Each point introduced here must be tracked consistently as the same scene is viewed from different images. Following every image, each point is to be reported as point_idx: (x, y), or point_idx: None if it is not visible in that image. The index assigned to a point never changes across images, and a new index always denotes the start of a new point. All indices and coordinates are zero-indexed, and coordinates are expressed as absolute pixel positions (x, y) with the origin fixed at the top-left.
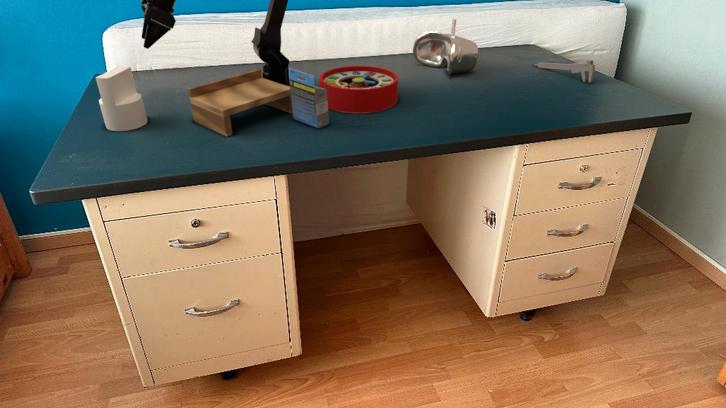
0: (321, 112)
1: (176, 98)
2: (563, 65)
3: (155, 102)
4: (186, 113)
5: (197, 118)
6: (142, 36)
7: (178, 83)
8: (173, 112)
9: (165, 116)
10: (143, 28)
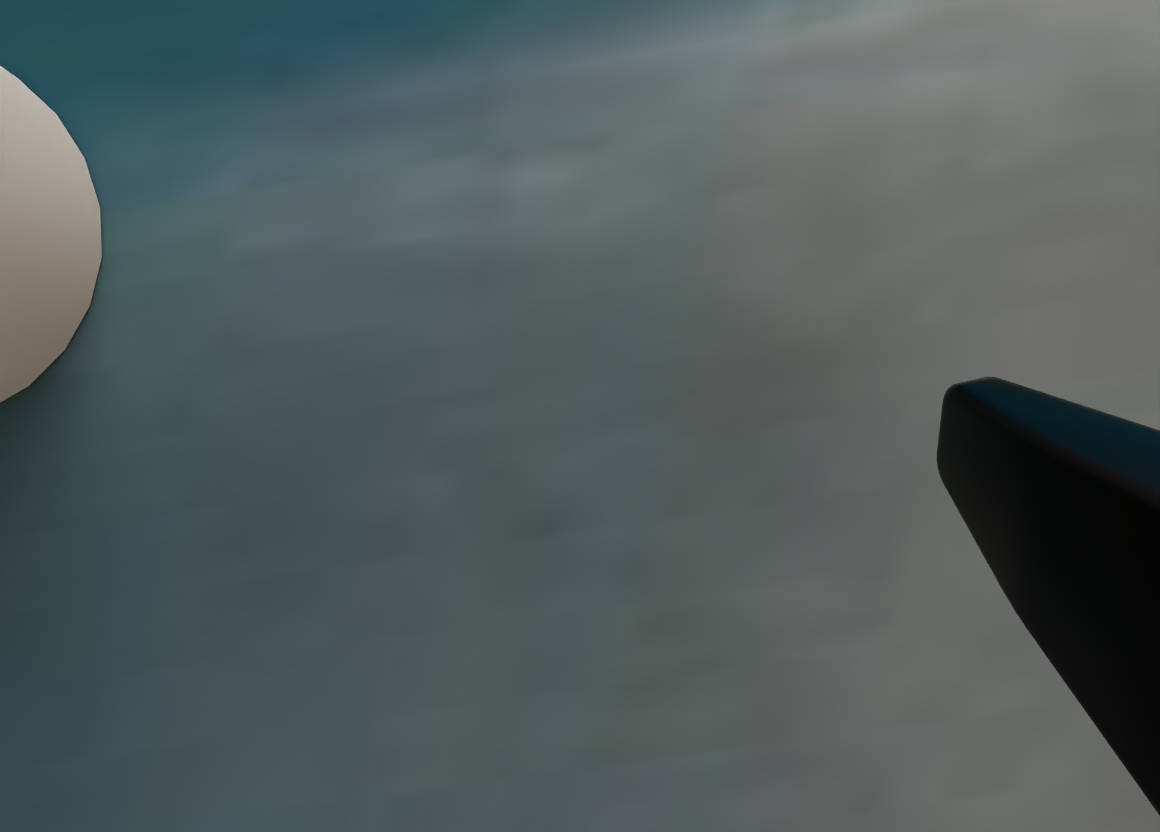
0: None
1: (572, 614)
2: None
3: (487, 419)
4: (89, 779)
5: None
6: (972, 412)
7: None
8: (145, 645)
9: (39, 582)
10: (1139, 504)
